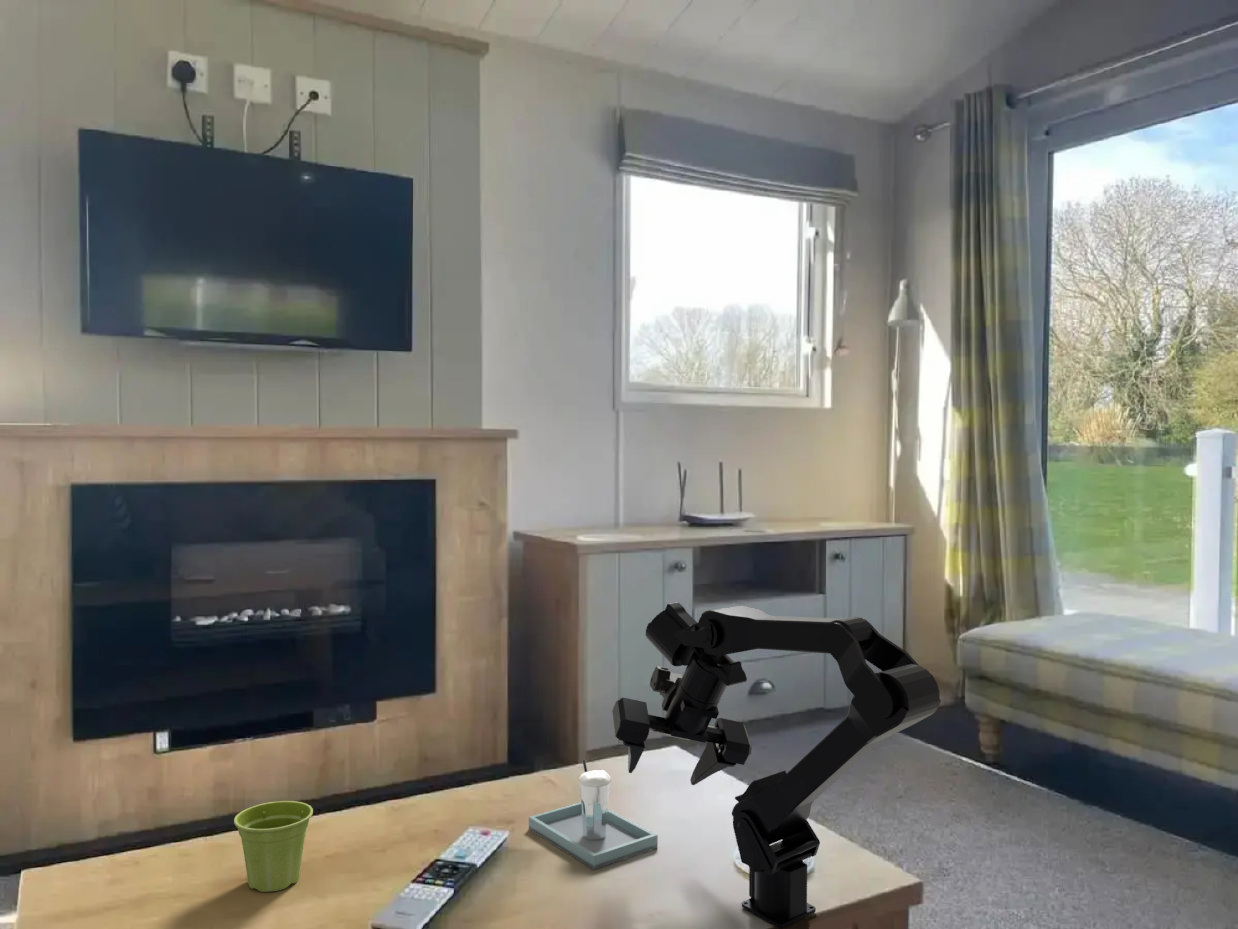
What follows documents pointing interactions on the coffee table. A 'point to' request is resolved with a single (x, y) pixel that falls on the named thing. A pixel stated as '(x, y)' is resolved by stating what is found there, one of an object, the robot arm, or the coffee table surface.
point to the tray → (615, 846)
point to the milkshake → (594, 802)
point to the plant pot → (273, 842)
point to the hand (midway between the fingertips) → (661, 776)
